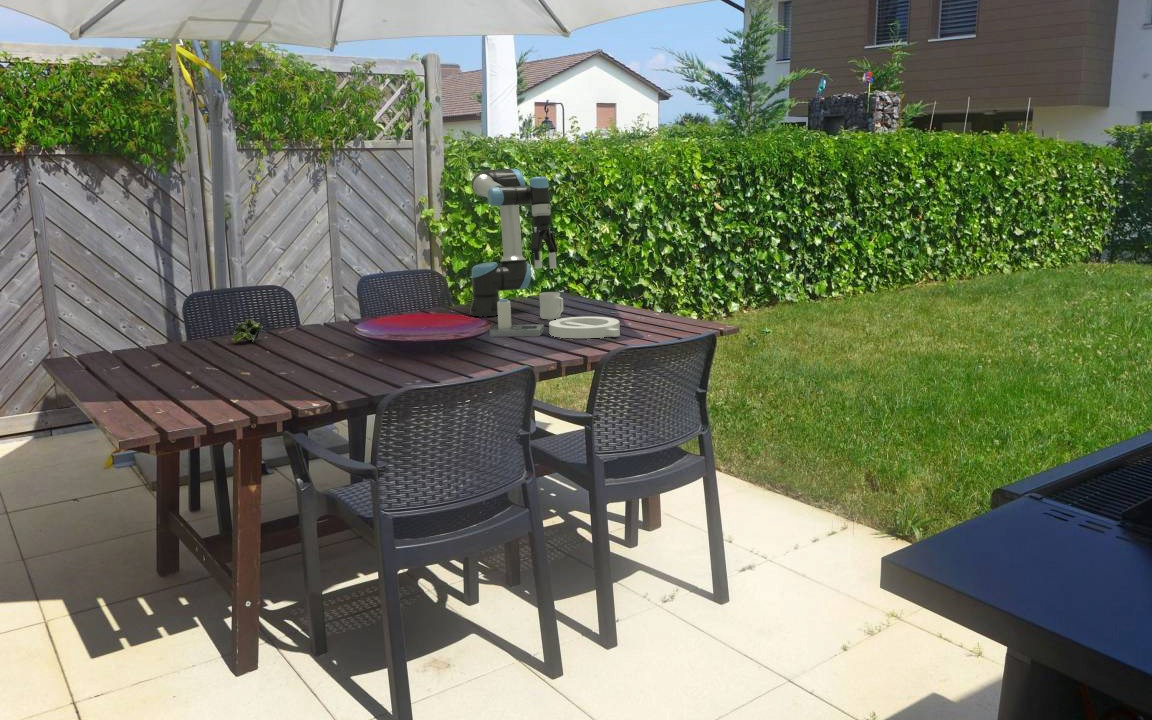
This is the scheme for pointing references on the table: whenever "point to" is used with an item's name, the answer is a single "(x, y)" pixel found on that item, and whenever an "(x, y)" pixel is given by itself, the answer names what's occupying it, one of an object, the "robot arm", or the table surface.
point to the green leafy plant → (248, 330)
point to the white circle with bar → (584, 327)
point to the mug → (550, 305)
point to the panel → (518, 331)
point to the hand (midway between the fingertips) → (546, 268)
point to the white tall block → (504, 314)
